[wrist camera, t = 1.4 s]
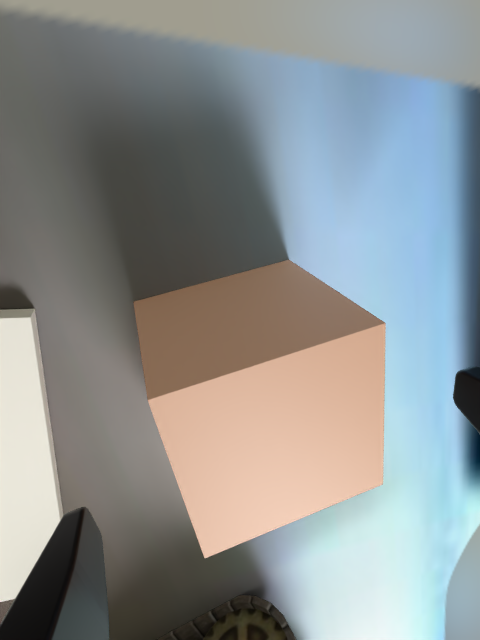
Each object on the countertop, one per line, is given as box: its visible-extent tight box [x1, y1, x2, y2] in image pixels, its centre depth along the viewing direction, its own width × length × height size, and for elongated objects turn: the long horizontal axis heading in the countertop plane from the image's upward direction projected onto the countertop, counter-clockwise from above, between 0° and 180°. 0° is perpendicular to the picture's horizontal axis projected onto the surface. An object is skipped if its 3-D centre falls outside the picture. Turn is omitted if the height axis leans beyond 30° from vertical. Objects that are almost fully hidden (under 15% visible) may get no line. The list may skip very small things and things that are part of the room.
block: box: [134, 260, 385, 558], centre depth 11 cm, size 5×5×5 cm
